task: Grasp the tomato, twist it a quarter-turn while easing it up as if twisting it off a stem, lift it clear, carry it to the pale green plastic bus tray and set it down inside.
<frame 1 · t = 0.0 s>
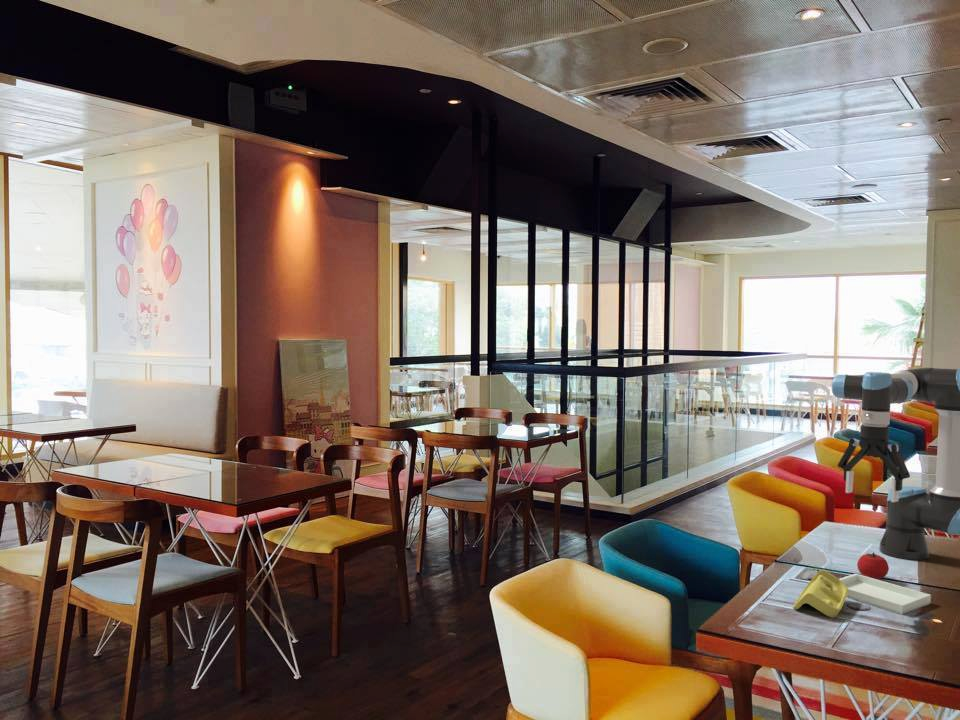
hand: (871, 497, 232), 28 cm above the table, fingers open, 13 cm apart
tomato: (872, 578, 245), on the table
tray: (877, 597, 228), on the table
plastic component: (822, 606, 220), on the table
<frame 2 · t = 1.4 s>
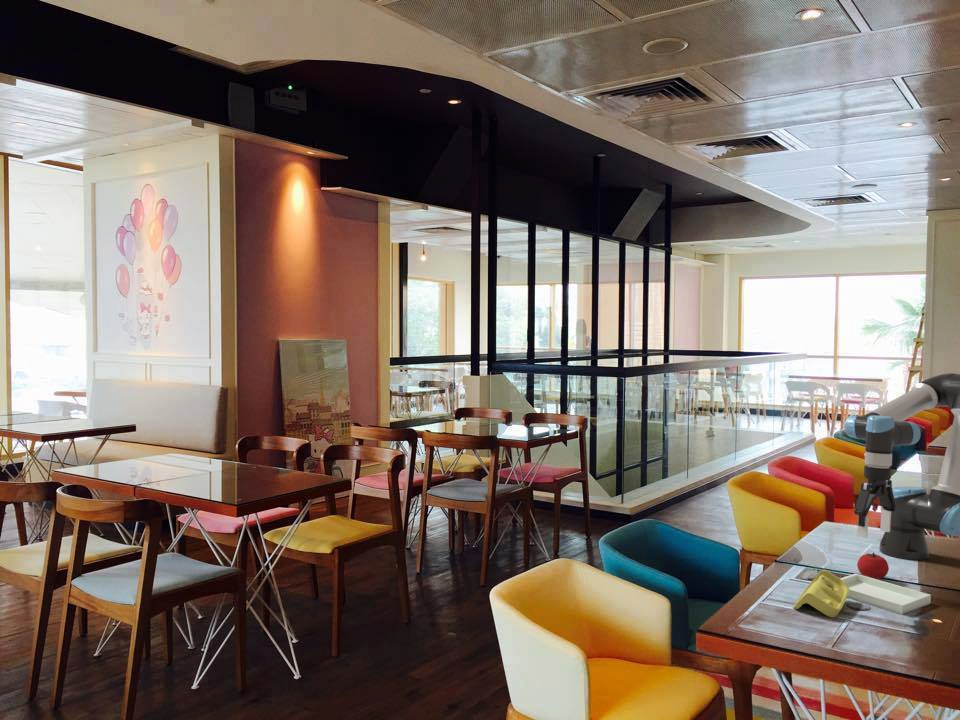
hand: (873, 534, 245), 14 cm above the table, fingers open, 13 cm apart
nothing on the table moved.
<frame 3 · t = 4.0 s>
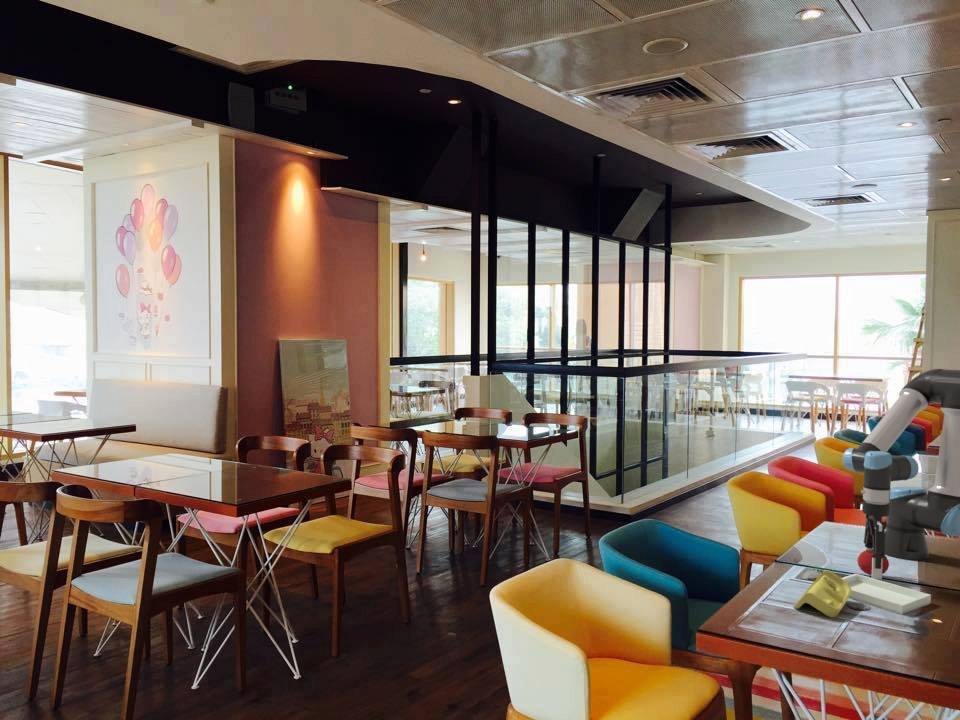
hand: (872, 573, 245), 1 cm above the table, fingers closed on tomato, 9 cm apart
tomato: (872, 574, 245), point 1 cm above the table, touching gripper
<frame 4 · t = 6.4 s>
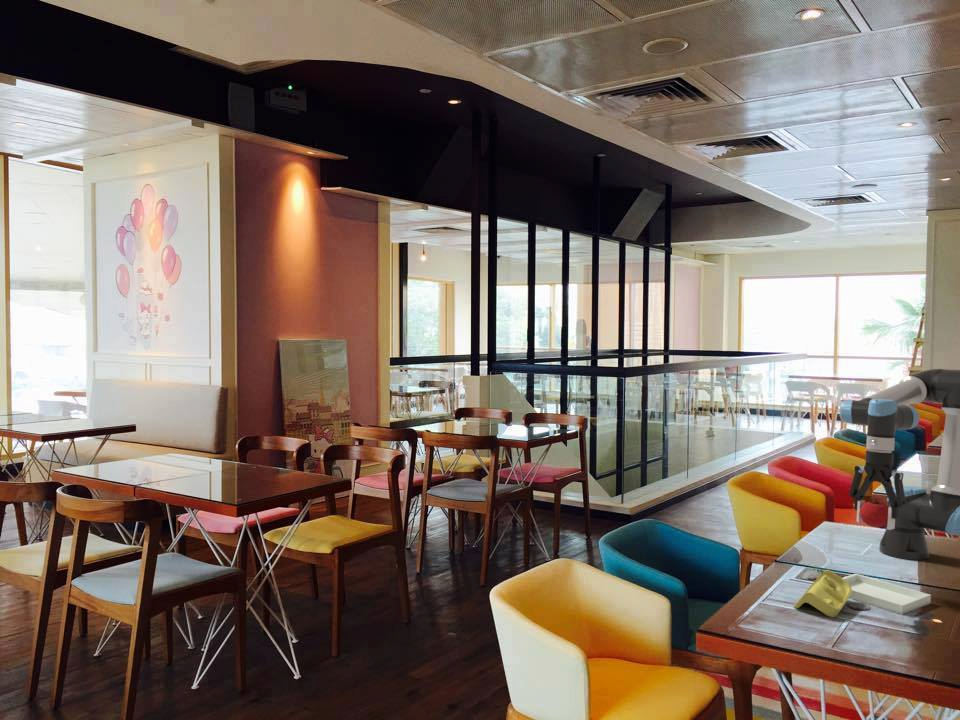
hand: (875, 525, 237), 18 cm above the table, fingers closed on tomato, 9 cm apart
tomato: (874, 526, 237), point 18 cm above the table, touching gripper
everything else where it was.
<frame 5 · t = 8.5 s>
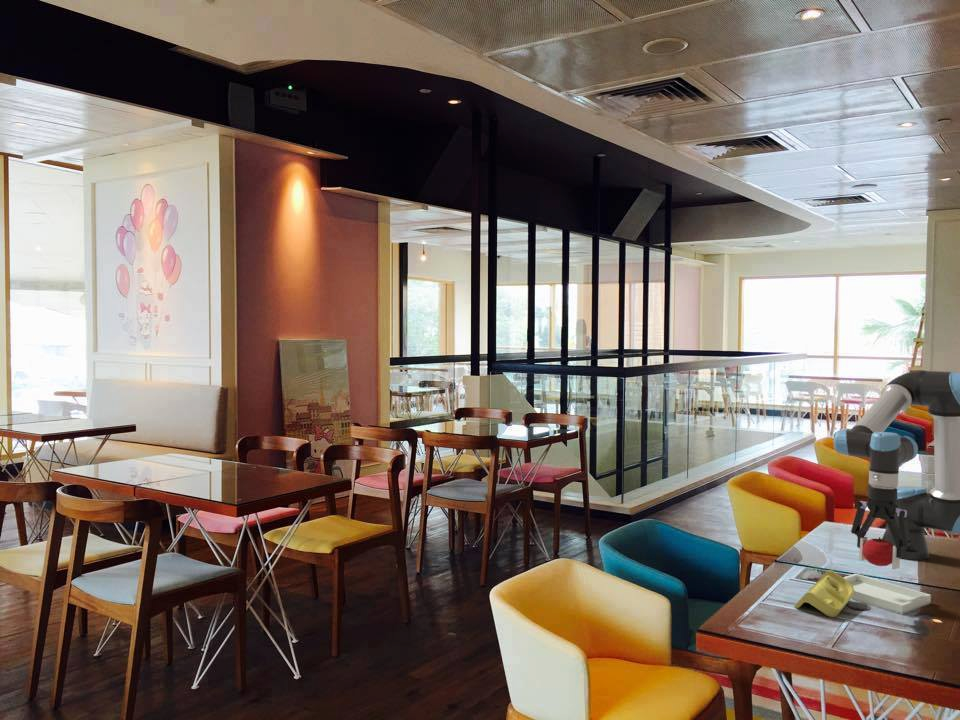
hand: (878, 563, 227), 10 cm above the table, fingers closed on tomato, 9 cm apart
tomato: (878, 565, 227), point 9 cm above the table, touching gripper
when the fingers open (2 cm above the table, at t = 10.3 s): tomato drops 1 cm, resting on tray.
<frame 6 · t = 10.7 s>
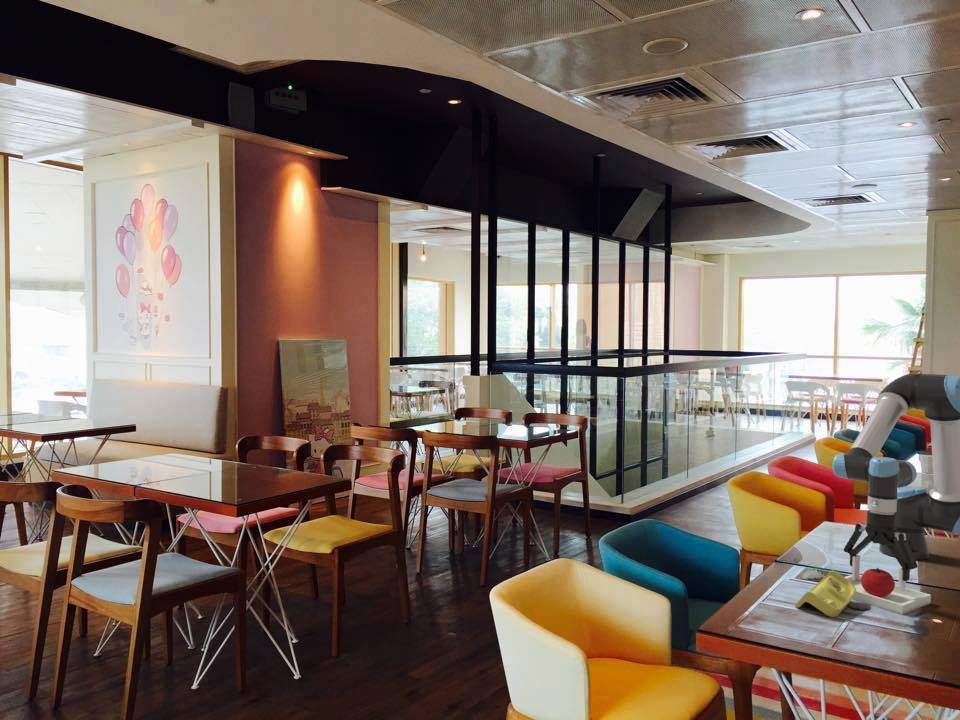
hand: (878, 584, 228), 4 cm above the table, fingers open, 13 cm apart
tomato: (877, 595, 228), resting on tray
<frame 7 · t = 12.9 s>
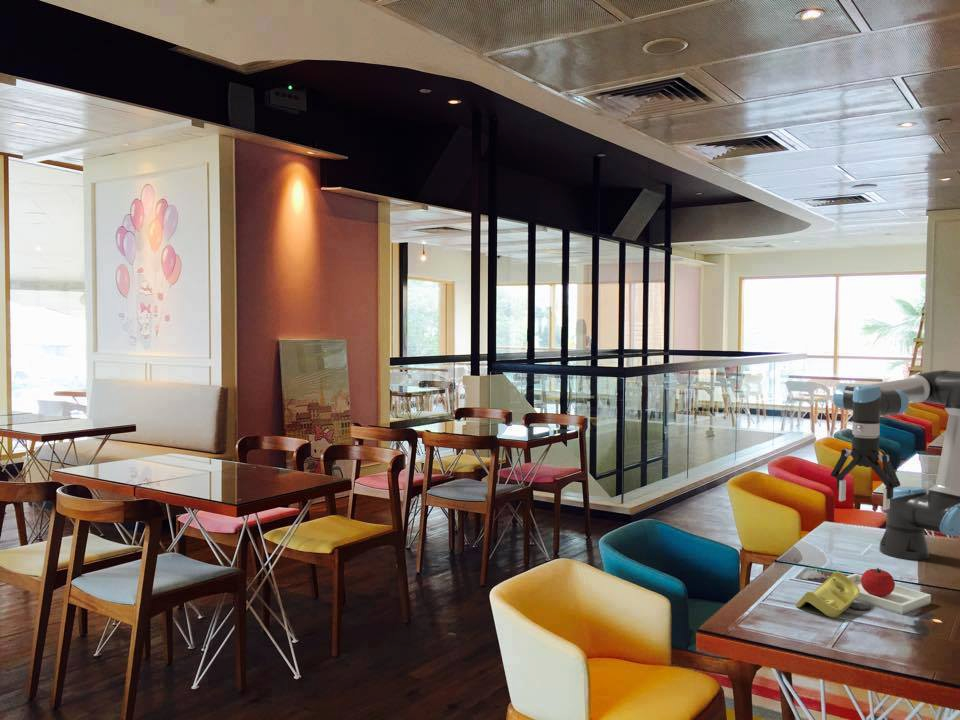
hand: (863, 504, 242), 23 cm above the table, fingers open, 13 cm apart
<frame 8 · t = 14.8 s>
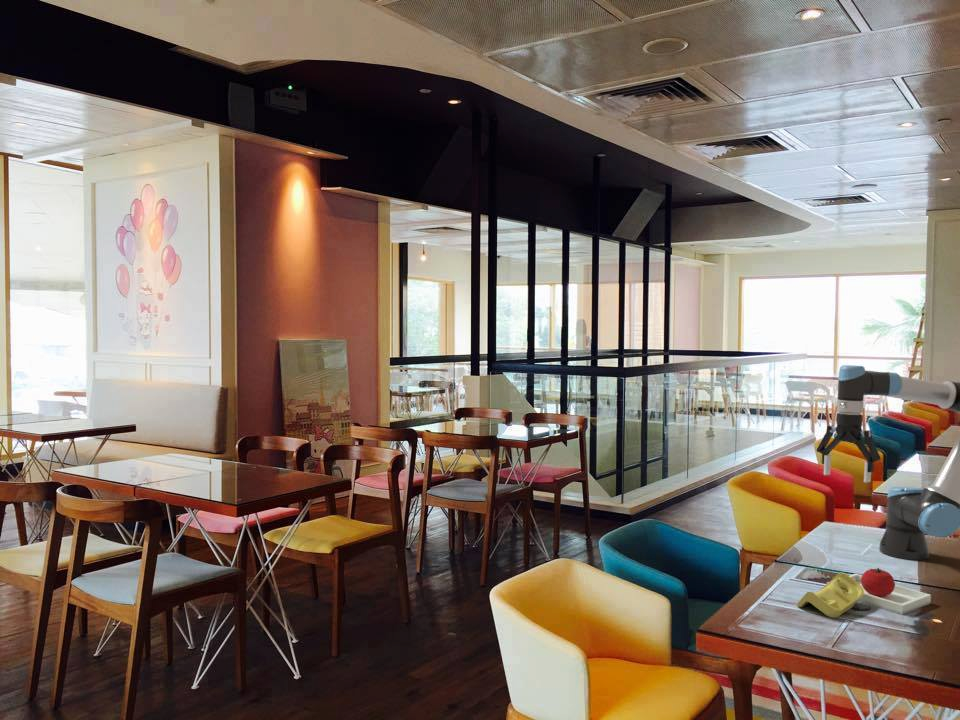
hand: (846, 478, 256), 29 cm above the table, fingers open, 13 cm apart
at the end: tomato inside the target area on the tray (0.1 cm from its centre), point 0.4 cm above the tray's base; the gripper is holding nothing; tomato moved 18.9 cm from its start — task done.
